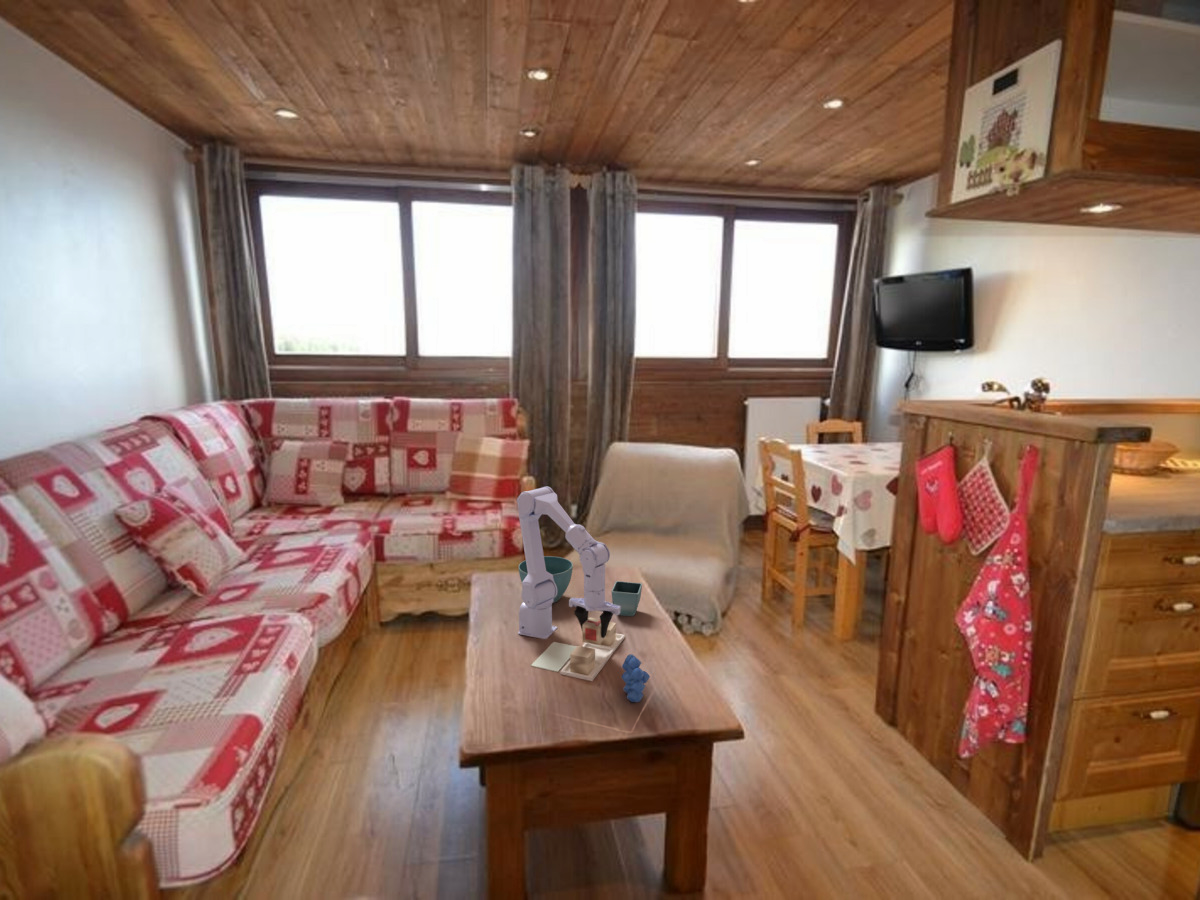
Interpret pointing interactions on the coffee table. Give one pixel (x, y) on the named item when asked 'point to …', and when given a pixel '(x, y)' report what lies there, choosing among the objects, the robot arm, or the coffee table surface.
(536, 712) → the coffee table surface
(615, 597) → the flower pot
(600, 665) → the sorting tray
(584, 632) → the lettered cube
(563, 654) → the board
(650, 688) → the coffee table surface
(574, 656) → the plain cube near
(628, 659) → the grapes
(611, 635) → the plain cube far
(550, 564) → the teal round bowl
